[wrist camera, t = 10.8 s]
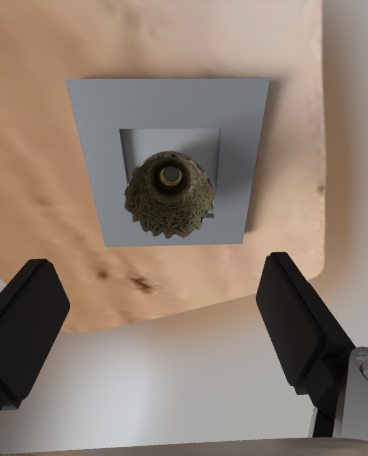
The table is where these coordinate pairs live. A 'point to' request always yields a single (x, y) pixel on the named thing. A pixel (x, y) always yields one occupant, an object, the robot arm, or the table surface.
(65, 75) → the table surface
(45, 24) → the table surface
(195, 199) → the cup
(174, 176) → the display stand
